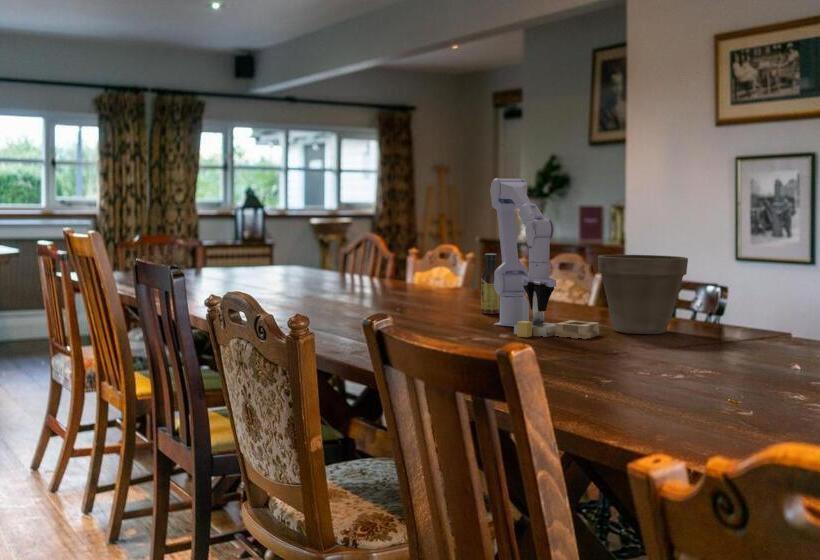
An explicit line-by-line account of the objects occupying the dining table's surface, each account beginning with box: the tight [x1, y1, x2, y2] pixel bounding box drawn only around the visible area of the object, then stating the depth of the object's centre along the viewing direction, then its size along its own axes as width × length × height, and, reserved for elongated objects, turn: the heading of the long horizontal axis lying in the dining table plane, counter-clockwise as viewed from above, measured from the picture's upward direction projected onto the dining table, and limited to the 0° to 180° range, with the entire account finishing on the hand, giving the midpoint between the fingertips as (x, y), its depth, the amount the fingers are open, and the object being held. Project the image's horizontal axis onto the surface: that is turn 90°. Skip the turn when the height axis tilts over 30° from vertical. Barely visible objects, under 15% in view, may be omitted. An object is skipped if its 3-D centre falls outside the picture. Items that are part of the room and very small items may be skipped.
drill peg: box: [531, 291, 545, 324], centre depth 267 cm, size 3×3×9 cm
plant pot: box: [597, 254, 689, 335], centre depth 271 cm, size 25×25×22 cm
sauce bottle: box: [480, 253, 500, 315], centre depth 314 cm, size 6×6×20 cm
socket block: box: [513, 322, 556, 338], centre depth 267 cm, size 10×10×2 cm
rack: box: [554, 320, 600, 340], centre depth 263 cm, size 9×9×4 cm
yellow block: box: [516, 320, 533, 338], centre depth 262 cm, size 3×3×4 cm
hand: (538, 310), depth 267 cm, fingers closed on drill peg, 3 cm apart
